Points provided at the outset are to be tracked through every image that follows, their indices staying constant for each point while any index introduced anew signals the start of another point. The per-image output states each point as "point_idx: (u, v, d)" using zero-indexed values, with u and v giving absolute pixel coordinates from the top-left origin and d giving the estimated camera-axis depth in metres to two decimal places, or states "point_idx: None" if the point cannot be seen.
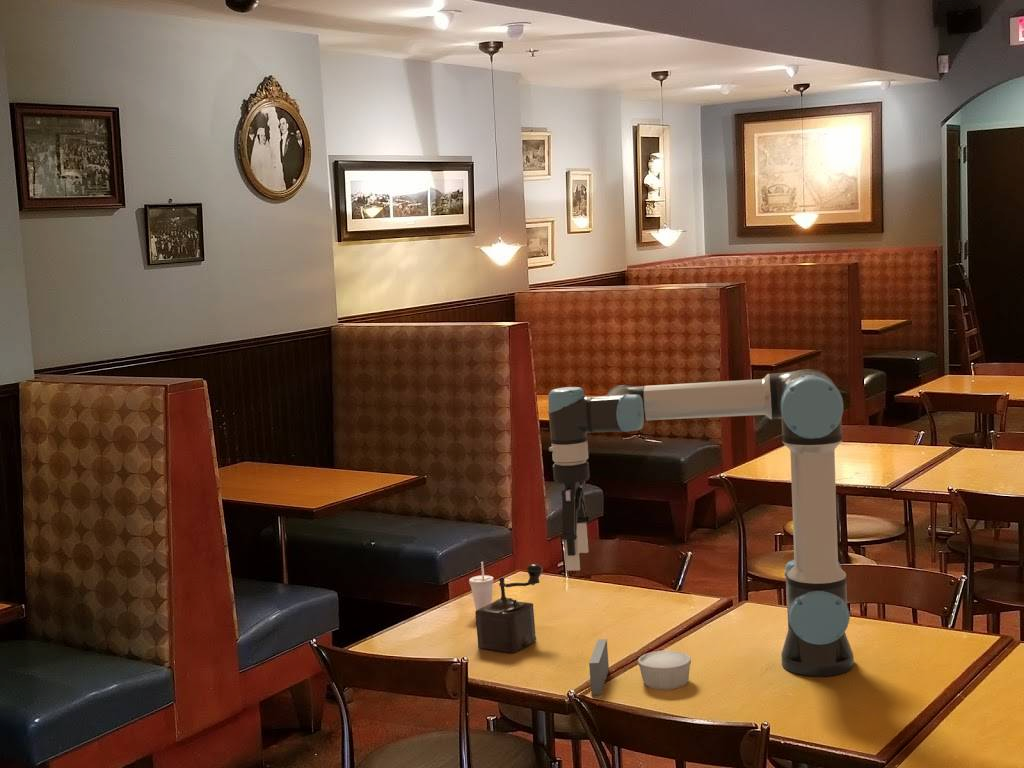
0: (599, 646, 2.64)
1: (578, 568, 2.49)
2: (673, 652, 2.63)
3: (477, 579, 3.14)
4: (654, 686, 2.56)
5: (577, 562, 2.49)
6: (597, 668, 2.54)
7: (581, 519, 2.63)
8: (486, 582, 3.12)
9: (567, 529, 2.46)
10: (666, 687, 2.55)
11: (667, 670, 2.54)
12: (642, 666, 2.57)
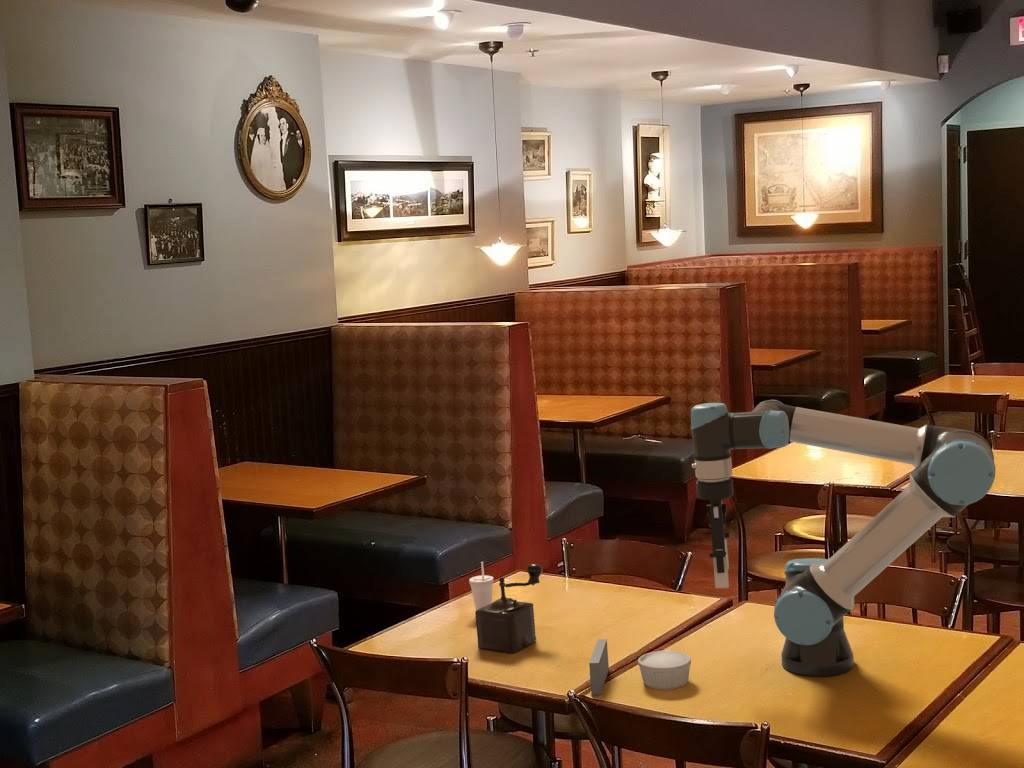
0: (599, 646, 2.64)
1: (727, 585, 2.47)
2: (673, 652, 2.63)
3: (477, 579, 3.14)
4: (654, 686, 2.56)
5: (726, 579, 2.47)
6: (597, 668, 2.54)
7: None
8: (486, 582, 3.12)
9: (717, 547, 2.44)
10: (666, 687, 2.55)
11: (667, 670, 2.54)
12: (642, 666, 2.57)
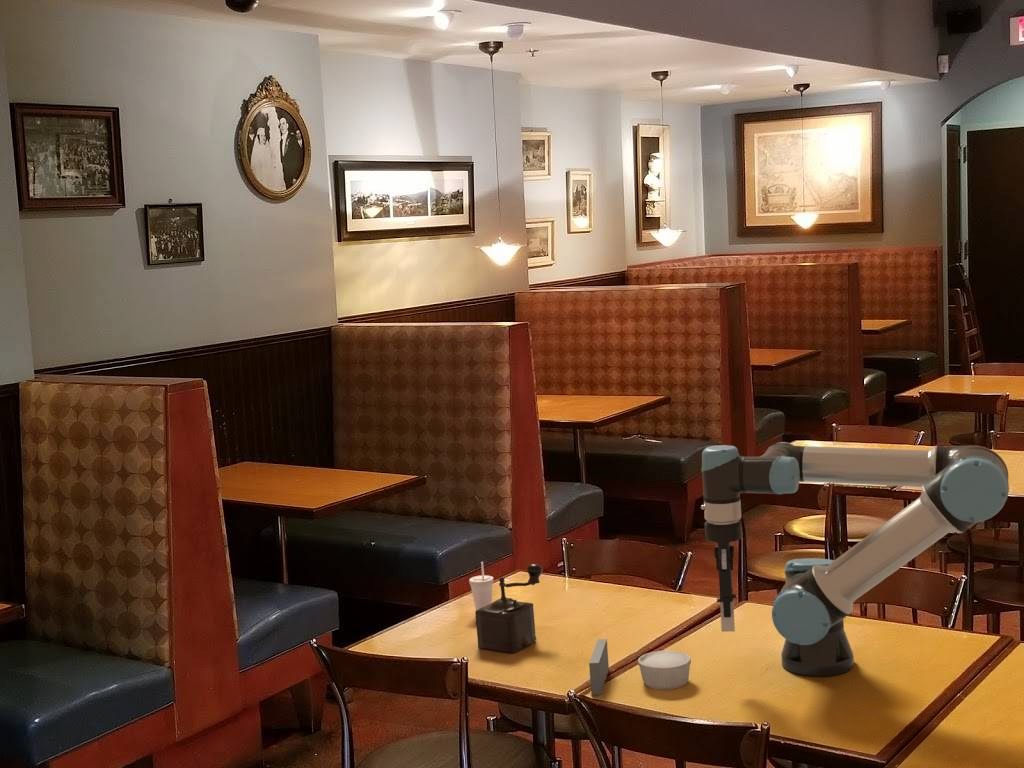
0: (599, 646, 2.64)
1: (733, 629, 2.55)
2: (673, 652, 2.63)
3: (477, 579, 3.14)
4: (654, 686, 2.56)
5: (732, 623, 2.55)
6: (597, 668, 2.54)
7: None
8: (486, 582, 3.12)
9: (724, 595, 2.51)
10: (666, 687, 2.55)
11: (667, 670, 2.54)
12: (642, 666, 2.57)
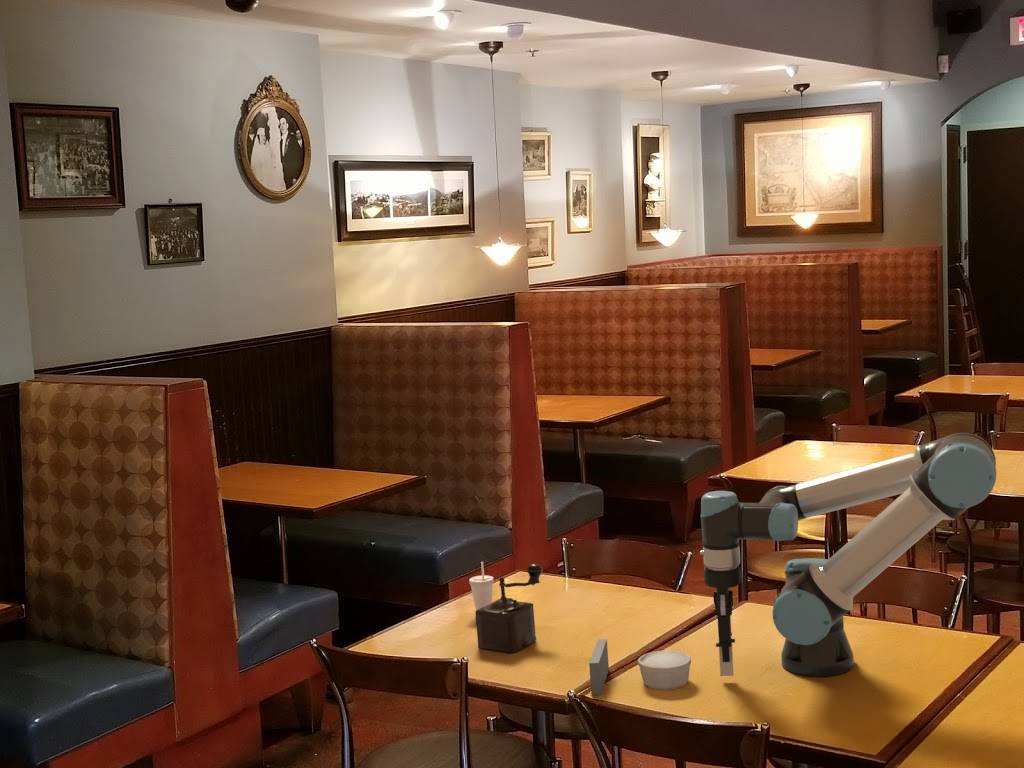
0: (599, 646, 2.64)
1: (732, 674, 2.56)
2: (673, 652, 2.62)
3: (477, 579, 3.14)
4: (654, 686, 2.56)
5: (731, 668, 2.56)
6: (597, 668, 2.54)
7: None
8: (486, 582, 3.12)
9: (723, 640, 2.52)
10: (666, 687, 2.55)
11: (667, 670, 2.54)
12: (642, 666, 2.57)
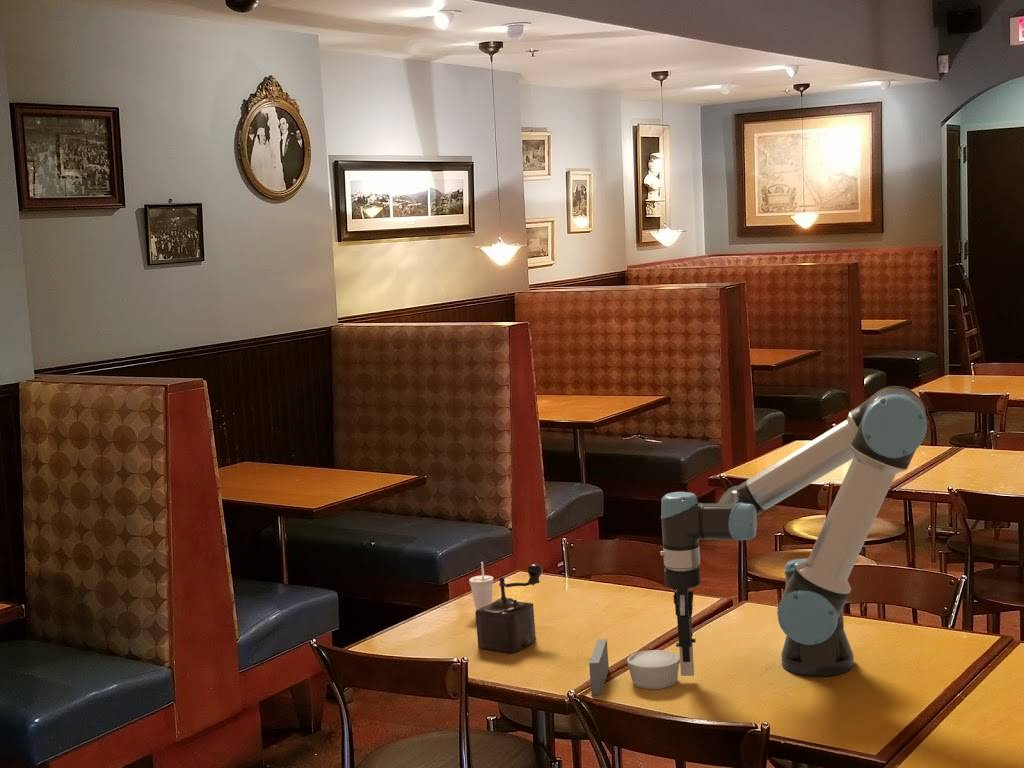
0: (599, 646, 2.64)
1: (692, 674, 2.58)
2: (662, 652, 2.63)
3: (477, 579, 3.14)
4: (643, 685, 2.56)
5: (691, 668, 2.57)
6: (597, 668, 2.54)
7: None
8: (486, 582, 3.12)
9: (683, 640, 2.54)
10: (655, 686, 2.55)
11: (655, 669, 2.54)
12: (631, 665, 2.57)
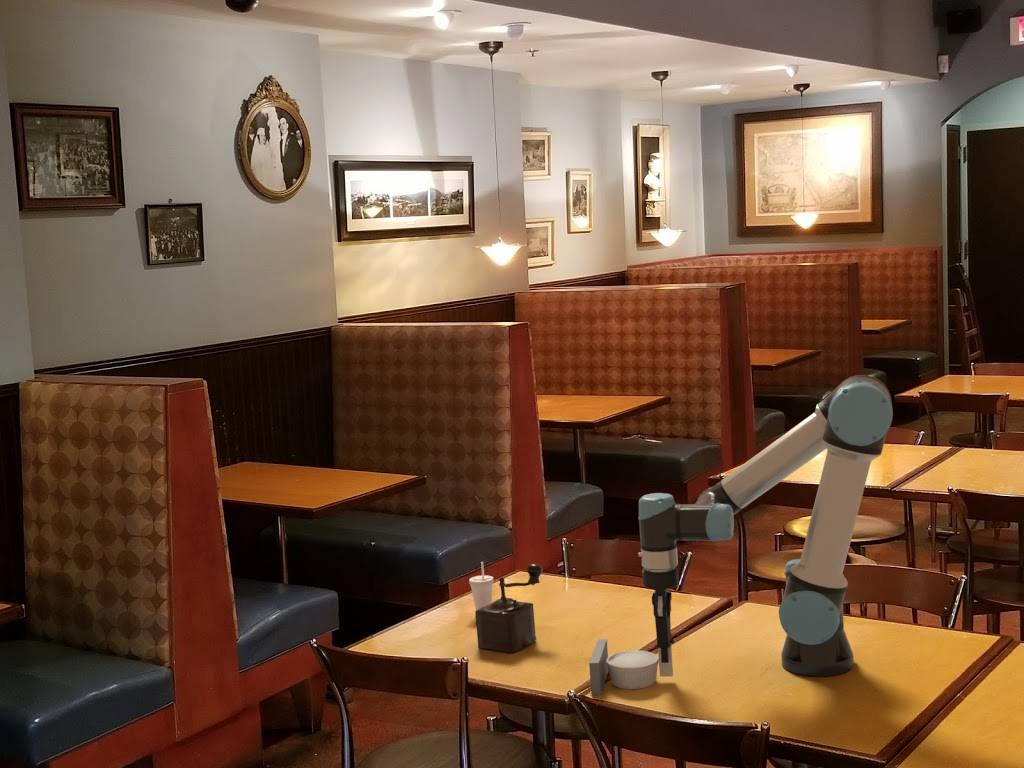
0: (599, 646, 2.64)
1: (671, 674, 2.58)
2: (642, 652, 2.64)
3: (477, 579, 3.14)
4: (621, 686, 2.57)
5: (670, 668, 2.58)
6: (597, 668, 2.54)
7: None
8: (486, 582, 3.12)
9: (661, 641, 2.55)
10: (633, 687, 2.56)
11: (633, 670, 2.55)
12: (609, 666, 2.58)
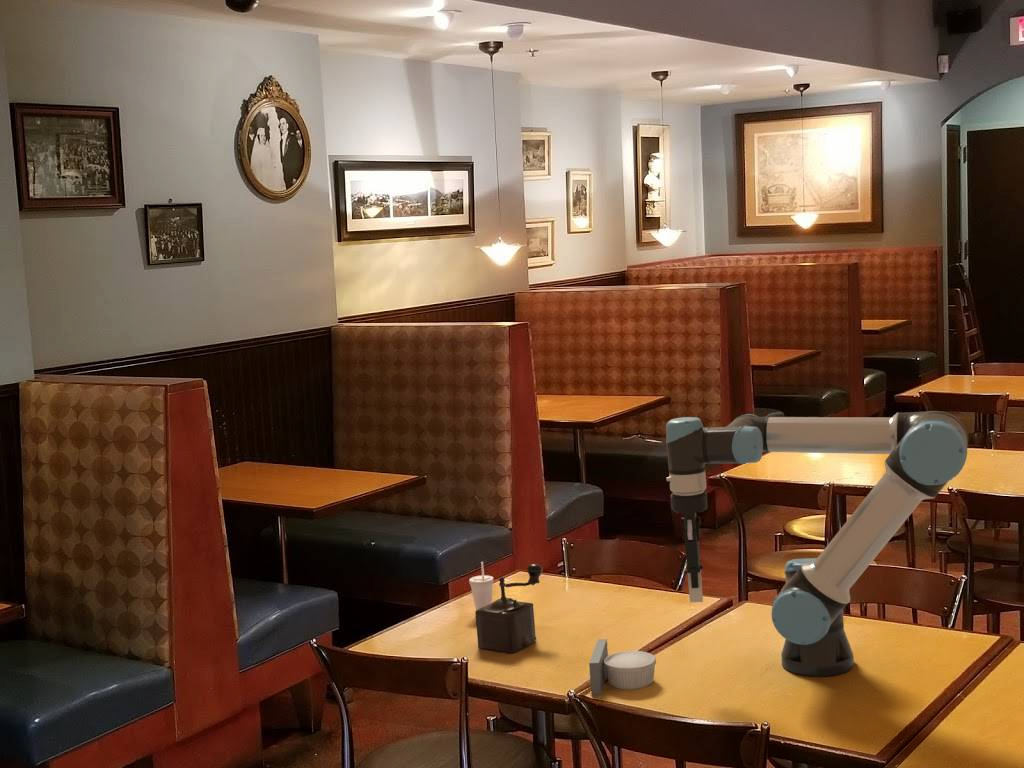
0: (599, 646, 2.64)
1: (701, 600, 2.57)
2: (639, 653, 2.64)
3: (477, 579, 3.14)
4: (618, 686, 2.57)
5: (700, 594, 2.56)
6: (597, 668, 2.54)
7: None
8: (486, 582, 3.12)
9: (691, 565, 2.53)
10: (630, 687, 2.56)
11: (630, 670, 2.55)
12: (607, 666, 2.58)
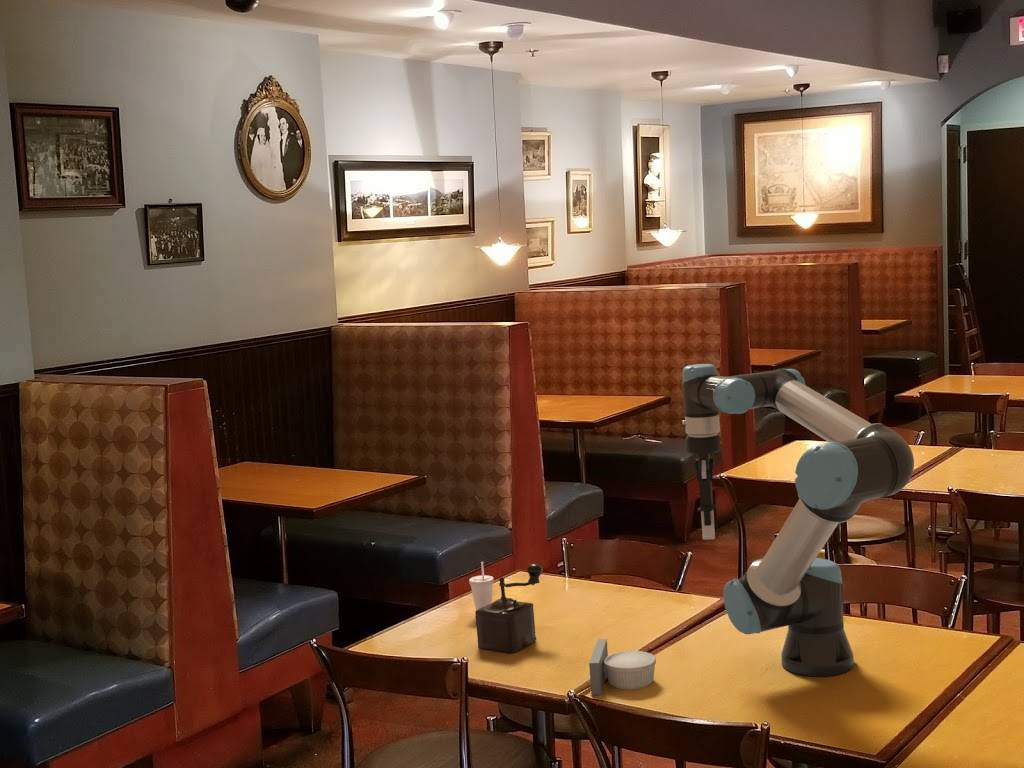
0: (599, 646, 2.64)
1: (713, 537, 2.71)
2: (639, 653, 2.64)
3: (477, 579, 3.14)
4: (618, 686, 2.57)
5: (712, 531, 2.71)
6: (597, 668, 2.54)
7: None
8: (486, 582, 3.12)
9: (704, 504, 2.67)
10: (630, 687, 2.56)
11: (630, 670, 2.55)
12: (607, 666, 2.58)
